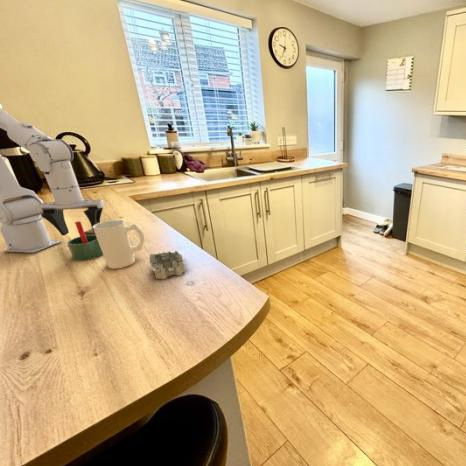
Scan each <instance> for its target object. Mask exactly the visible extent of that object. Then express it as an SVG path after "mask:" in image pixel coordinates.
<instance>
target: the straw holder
mask: <svg viewBox="0 0 466 466" xmlns="http://www.w3.org/2000/svg"><path fill="white" fill-rule="evenodd" d="M84 232H85V235H96V234H95V233H94V231H93V229H92V228H91V229H88V230H84Z"/></svg>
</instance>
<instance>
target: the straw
mask: <svg viewBox="0 0 466 466" xmlns="http://www.w3.org/2000/svg"><path fill="white" fill-rule="evenodd" d="M74 225H75V226H76V229H77V233H78V235H79V237H81V240H82V243H87V242H88V241H87V238H86V235H85V230H84V227H83V224H82V222H81V221H79V220H78V221H75V222H74Z"/></svg>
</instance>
